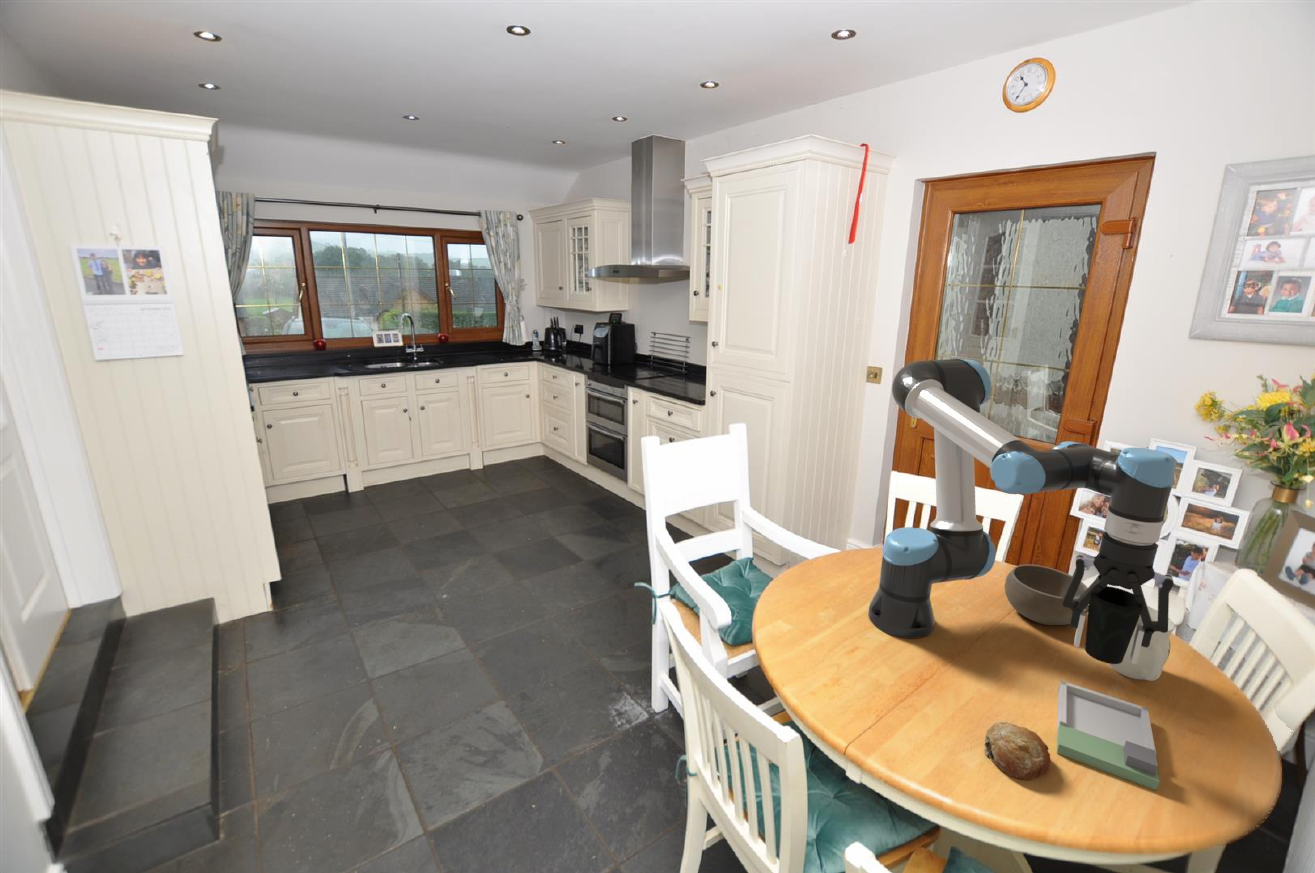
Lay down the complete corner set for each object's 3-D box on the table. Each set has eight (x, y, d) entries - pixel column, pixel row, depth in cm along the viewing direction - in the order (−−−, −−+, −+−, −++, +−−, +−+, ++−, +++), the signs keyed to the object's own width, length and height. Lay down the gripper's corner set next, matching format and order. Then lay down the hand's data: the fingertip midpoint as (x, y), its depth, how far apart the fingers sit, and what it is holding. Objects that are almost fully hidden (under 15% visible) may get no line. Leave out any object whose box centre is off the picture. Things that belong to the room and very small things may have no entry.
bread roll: (978, 753, 109) (966, 723, 107) (1028, 731, 109) (1017, 700, 107) (1013, 799, 100) (1001, 767, 98) (1068, 775, 99) (1058, 742, 97)
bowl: (1095, 619, 145) (1103, 583, 142) (1063, 644, 135) (1071, 606, 133) (1021, 589, 159) (1028, 556, 156) (988, 609, 149) (994, 575, 146)
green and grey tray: (1056, 753, 105) (1061, 734, 104) (1058, 690, 120) (1062, 674, 119) (1156, 790, 97) (1162, 771, 96) (1144, 719, 113) (1149, 702, 112)
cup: (1138, 670, 102) (1153, 610, 99) (1089, 664, 104) (1102, 605, 101) (1116, 644, 109) (1129, 588, 106) (1070, 639, 111) (1082, 583, 108)
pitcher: (1119, 694, 119) (1134, 637, 115) (1085, 643, 136) (1098, 591, 132) (1183, 706, 116) (1201, 647, 112) (1141, 651, 133) (1156, 599, 129)
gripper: (1058, 530, 103) (1036, 641, 109) (1213, 561, 92) (1180, 684, 98) (1060, 516, 109) (1039, 622, 115) (1206, 544, 98) (1175, 661, 104)
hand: (1104, 650), depth 106 cm, fingers closed on cup, 8 cm apart
